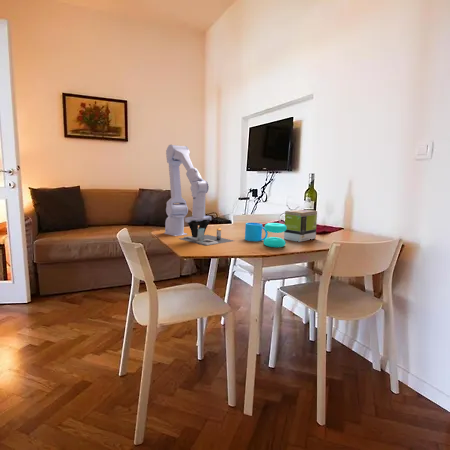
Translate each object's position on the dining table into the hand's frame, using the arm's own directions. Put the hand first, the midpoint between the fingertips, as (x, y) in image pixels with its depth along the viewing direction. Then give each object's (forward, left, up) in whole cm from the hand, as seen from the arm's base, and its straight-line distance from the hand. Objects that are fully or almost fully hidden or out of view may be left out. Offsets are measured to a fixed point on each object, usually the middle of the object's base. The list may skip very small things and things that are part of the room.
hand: (198, 236), depth 157 cm
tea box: (+25, +48, -2) cm, 54 cm away
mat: (0, +5, -2) cm, 5 cm away
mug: (+15, +25, -2) cm, 29 cm away
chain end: (0, 0, -2) cm, 2 cm away
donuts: (+27, +23, -2) cm, 35 cm away
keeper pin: (+4, +10, -2) cm, 10 cm away
